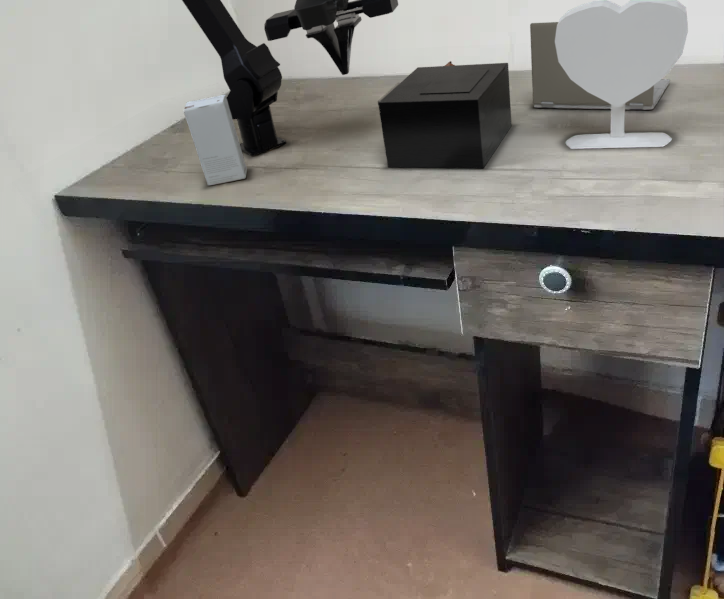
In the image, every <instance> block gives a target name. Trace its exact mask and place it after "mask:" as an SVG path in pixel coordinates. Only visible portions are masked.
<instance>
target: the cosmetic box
mask: <svg viewBox="0 0 724 599" xmlns="http://www.w3.org/2000/svg"><path fill="white" fill-rule="evenodd" d="M183 114H184V117H185V120H186V123H187V126H188V129H189V133H190V135H191V138H192V141H193V144H194V148H195V150H196V154H197V157H198V160H199V163H200V166H201V169H202V172H203V176H204V178H205V182H206V185H207V186H215V185H220V184H224V183H229V182H234V181H239V180H244V179H246V178H247V172H248V168H247V164H246V162H245V158H244V154H243V151H242V150H241V147H240V144H241V143H240V140H239V136H238V133H237V129H236V126H235V122H234V119H232V115H231V112H230V109H229V105H228V101H227V95H226V94H221V95H215V96H210V97H204V98H201V99H196V100H195V99H194V100H190V101H187V102H186V103H185V106H184V108H183Z"/></svg>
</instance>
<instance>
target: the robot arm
mask: <svg viewBox="0 0 724 599" xmlns="http://www.w3.org/2000/svg"><path fill="white" fill-rule="evenodd" d="M181 1H182V2H183V4H184V6H185V7H186V9H187V10H188V12H189V13H190V14H191V17H192V18H193V20H195V23H196V24H197V25H198V26H199V28H200V30H201V31H202V32H203V34H204V35H205V37H206V38H207V40H208V41H209V43H210V44H211V46H212V47H213V49H214V50H215V52H216V53H217V55H218V56H219V59H220V62H221V66H222V67H221V68H222V75H223V79H224V81H225V83H226V85H227V87H228V89H229V92H228V94H227V95H226V98H227V101H228V105H229V109H230V112H231V115H232V119H233V120H236V122H237V126H238V131H239V134H240V138H241V141H242V142H241V143H240V147H241V150H242V153H245V154H246V155H249V156H251V157H253V156H256V155H260V154H263V153H266V152H267V151H270V150H273V149H275V148H279V147H281V146H284V145H286V144H287V141H286V140H285V139H284V138H281V137H279V136H277V132H276V127H275V123H274V118H273V115H272V111H271V105H272V104H274V103H276V102H277V101H278V93H279V90H280V89H281V86H282V79H283V75H282V72H281V69H280V68H279V67H280V66H281V63H280V62H279V61H278V60H276V59H275V57H274V56H273V55H272V52H271V51H270V48H269V47H268V45H267V44H266V43H265V42H263V43H261V44H259V45H257V46H256V45H255V44H253V43H252V42H251V41H249V40H248V39H247V38H246V37H245V35H244V33H243V32H242V31H241V29H240V27H239V26H238V24H237V23H236V21H235V20H234V18H233V16H232V15H231V14H230V12H229V11H228V9H227V8H226V7H225V4H224V3H223V2H222V0H181ZM398 6H399V0H351V1H350V0H296V1H295V4H294V8H293V9H288V10H285V11H279V12H276V13H274V14H272V15H271V16H270V17H268V18H266V19H265V22H264V26H263V27H264V32H265V36H266V39H267V41H268V42H272V41H277V40H280V39H284V38H288V37H289V35H290V33H291V31H292V30H296V29H297V30H298V29H301V28H302V30H304V31H306V34H305V37H306V39H313V40H315V41H317V42H318V43H319V44H320V45H321V46H322V48H324V50H325V51H326V52H327V54H328V55H329V57H330V58H331V60H332V61H333V63H334V65H335V66H336V67H337V69H338V70H339V73H340V74H341V75H342V76H344V75H348V74H349V73H350V64H351V63H350V62H351V53H352V42H353V38H354V34H355V33H354V32H355V28H356V27H357V26H358V25H359V24H360V23H361V21H362V16H360V14H363V15H365V16H366V17H368V18H370V19H371V18H376V17H380V16H385V15H389V14H391V13H393V12H394V11H395V10H396V9H397V8H398ZM335 22H336V23H337V25H336V26H335Z"/></svg>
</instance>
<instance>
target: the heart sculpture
mask: <svg viewBox="0 0 724 599" xmlns="http://www.w3.org/2000/svg"><path fill="white" fill-rule="evenodd" d="M557 22H558V24H557V29H556V36H555V46H556V51H557V56H558V62H559V63H560V65H561V66H562V68H563V69H564V71H565V72H566V73H567V75H568V76H569V78H570V79H571V80H572V81H573V82H575V83H576V84H577V85H579V86H580V87H581V88H583V89H584V90H586V91H587V92H589V93H590V94H592V95H594V96H596V97H598V98H600V99H602V100H604V101H606V102H608V103H609V104H611V109H610V132H609V133H587V134H585V133H584V134H575V135H573V136H571V137H570V138H568V139H567V140H566V141H565V144H566V146H567V147H568V148H569V149H571V150H576V149H577V150H579V149H584V150H585V149H621V148H622V149H625V148H659V147H660V148H663V147H665V146H666V145H668V144H669V143H671V142H672V139H673V138H672V137H671V136H670V135H669V134H667V133H665V132H659V131H658V132H656V131H655V132H654V131H653V132H652V131H651V132H650V131H649V132H625V131H626V130H625V127H626V126H625V125H626V109H625V103H626V102H627V101H629V100H631V99H633V98H634V97H636V96H638V95H639V94H641V93H643V92H644V91H646V90H648V89H649V88H651V87H652V86H653V85H655V84H656V83H657V82H658V81H660V80H661V79H664V78H665V77H666V76H667V75H669V73H670V72H671V71H672V69H673V67H674V66H675V65H676V63H677V62H678V61H679V59H680V58H681V56H682V55H683V53H684V50H685V49H684V48H685V45H686V40H687V37H688V32H689V25H688V22H689V21H688V15H687V7H686V6H685V5H684V4H682V3H681V2H680V1H679V0H629V1H628V2H626V3H625V4H624V5H622V6H621V5H619V4H617V3H615V2H613V1H611V0H592V1H588V2H586V3H582V4H580V5H577V6H575V7H573V8H571V9H569V10H567V11H566V12H565V13H564V14H563V15H562V16H561V17H560V19H559V21H557Z"/></svg>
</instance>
